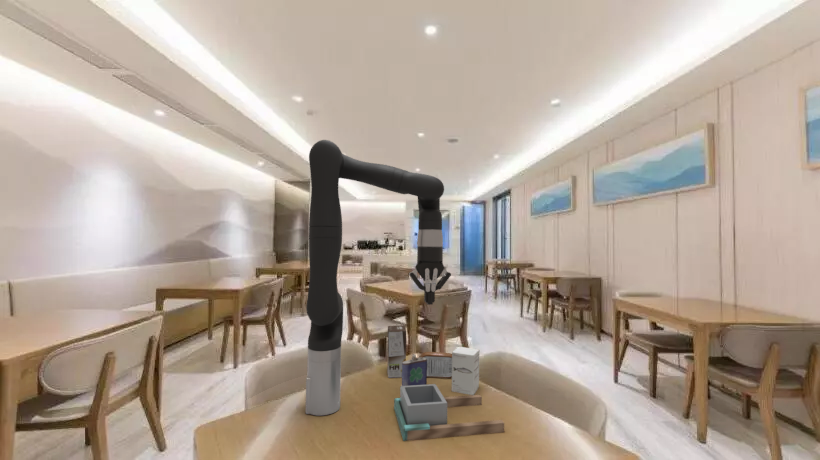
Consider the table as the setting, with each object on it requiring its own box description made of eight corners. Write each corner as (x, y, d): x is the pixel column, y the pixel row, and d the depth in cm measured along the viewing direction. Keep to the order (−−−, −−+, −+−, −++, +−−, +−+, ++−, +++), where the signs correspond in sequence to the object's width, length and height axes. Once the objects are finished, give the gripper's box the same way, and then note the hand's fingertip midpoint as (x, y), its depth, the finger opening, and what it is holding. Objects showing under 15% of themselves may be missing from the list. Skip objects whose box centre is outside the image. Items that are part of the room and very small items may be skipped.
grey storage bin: (407, 435, 86) (407, 405, 86) (400, 411, 98) (400, 386, 98) (447, 431, 88) (447, 403, 88) (435, 409, 99) (435, 384, 100)
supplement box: (450, 392, 112) (451, 351, 112) (457, 383, 118) (458, 345, 119) (473, 396, 108) (473, 355, 109) (479, 387, 115) (479, 348, 116)
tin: (459, 376, 125) (459, 352, 125) (459, 380, 122) (459, 355, 122) (416, 374, 126) (417, 350, 127) (416, 377, 123) (416, 353, 124)
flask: (404, 392, 111) (404, 358, 111) (399, 389, 114) (399, 355, 114) (428, 386, 116) (428, 353, 116) (423, 383, 118) (423, 351, 119)
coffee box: (406, 377, 123) (406, 331, 124) (387, 378, 123) (388, 331, 123) (403, 368, 133) (404, 325, 133) (386, 368, 132) (387, 325, 132)
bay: (403, 442, 83) (403, 428, 83) (394, 409, 100) (394, 398, 100) (504, 433, 88) (504, 420, 88) (479, 403, 104) (479, 392, 104)
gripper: (410, 245, 100) (409, 306, 99) (455, 245, 102) (454, 306, 102) (405, 245, 107) (405, 302, 107) (448, 245, 110) (447, 301, 109)
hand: (429, 304), depth 104 cm, fingers closed
